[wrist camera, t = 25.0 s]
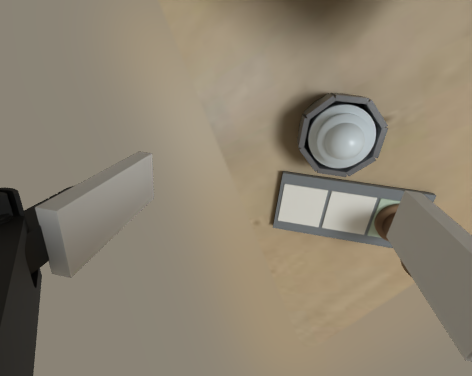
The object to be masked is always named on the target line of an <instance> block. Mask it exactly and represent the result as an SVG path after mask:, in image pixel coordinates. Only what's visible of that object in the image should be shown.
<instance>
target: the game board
mask: <svg viewBox="0 0 472 376" xmlns="http://www.w3.org/2000/svg"><path fill="white" fill-rule="evenodd" d="M405 190H406V191H413V192H419V193H422V194H423V195H425V196H426V197H427V198H428V199H429V200H430V201H432V202H434V199H435V197H436V195H435V194H433V193H429V192H422V191H415V190H408V189H401V188H395V187H388V186H381V185H374V184H367V183H360V182H354V181H347V180H340V179H333V178H326V177H319V176H313V175H306V174H299V173H292V172H285V171H283V174H282V179H281V185H280V190H279V196H278V201H277V207H276V212H275V218H274V223H273V228H278V229H284V230H290V231H296V232H302V233H307V234H313V235H319V236H325V237H331V238H337V239H343V240H348V241H354V242H360V243H366V244H372V245H378V246H384V247H389V248H393V247H392V245H391V244H390V242H389V241H386V240H384V239H383V238H382V237H380V235H379V234H378V232H377V231H376V229H375V226H374V221H375V217H376V215H377V214H378V213H379V212H380V211H381V210H382V209H383V208H385V207H387V206H389V205H392V204H398V203H400V201H401V199H402V196H403V194H404V191H405Z"/></svg>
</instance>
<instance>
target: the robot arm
mask: <svg viewBox="0 0 472 376" xmlns="http://www.w3.org/2000/svg"><path fill="white" fill-rule="evenodd" d="M152 162H153V161H152V153H147V152H137V153H135V154H133V155H131V156H129V157H128V158H126V159H124V160H122V161H120V162H118V163H116V164H115V165H113V166H111V167H109V168H107V169H105V170H103V171H101V172H100V173H98V174H96V175H94V176H92V177H90V178H88V179H87V180H85V181H83V182H81V183H79V184H77V185H75V186H72V187H69V188H66V189H64V190H63V191H61V192H59V193H58V194H55V195H53V196H51V197H50V198H49V199H46V200H44V201H42V202H40V203H38V204H36V205H34V206H32V207H30V208H28V209H27V210H25V211H24V210H23V207H22V203H21V200H20V196H19V193H18V191H17V190H15V189H13V188H0V376H33V369H34V359H35V348H36V336H37V324H38V313H39V302H40V289H41V279H42V275H41V271H40V267H41V266H43V265H44V264H45V263H46V262H47V261H49V264H50V268H51V272H52V274H55V275H61V276H65V277H70V278H72V277H73V276H74V275H75V274H76V273H77V272H78V271H79V270H80V269H81V268H82V267H83V266H84V265H85V264H86V263H87V262H88V261H89V260H90V259H91V258H92V257H93V256H94V255H95V254H96V253H98V251H100V250H101V249H102V248H103V247H104V246H105V245H106V244H107V243H108V242H109V241H110V240H111V239H112V238H113V237H114V236H115V235H116V234H117V233H118V232H119V231H120V230H121V229H122V228H123V227H125V225H127V223H128V222H130V221H131V220H132V219H133V218H134V217H135V216H136V215H137V214H138V213H139V212H140V211H141V210H142V209H143V208H144V207H145V206H146V205H147V204H148V203H149V202H150V201H151V200H153V199H154V189H153V188H154V186H153V163H152ZM386 237H387V239H388V240H389V242H390V244H391V245H392V247H393V248H394V250H395V251H396V253H397V255H398V256H399V258H400V259H401V261H402V262H403V264H404V265H405V267H406V269H407V270H408V272H409V273H410V275H411V276H412V278H413V280H414V281H415V283H416V284H417V285H418V287H419V289H420V291H421V292H422V294H423V295H424V297H425V298H426V300H427V301H428V303H429V305H430V306H431V308H432V309H433V311H434V312H435V314H436V316H437V317H438V319H439V320H440V322H441V323H442V325H443V326H444V328H445V330H446V331H447V333H448V334H449V336H450V337H451V339H452V341H453V342H454V343H455V345H456V347H457V348H458V350H459V351H460V353H461V355H462V356H463V357H464V359H465V360H467V361H471V362H472V235H470V234H469V233H468V232H467V231H466V230H465V229H463V228H462V227H461V226H460V225H459V224H458V223H456V222H455V221H454V220H453V219H452V218H450V217H449V216H448V215H447V214H446V213H445V212H443V211H442V210H441V209H440V208H439V207H438V206H436V205H435V204H434V203H433V202H432V201H430V200H429V199H428V198H427V197H426V196H425V195H423V194H422V193H419V192H413V191H406V190H405V191H404V194H403V196H402V199H401V201H400V204H399V206H398V209H397V211H396V214H395V216H394V219H393V221H392V224H391V226H390V228H389V231H388V233H387V236H386Z"/></svg>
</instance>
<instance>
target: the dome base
mask: <svg viewBox="0 0 472 376" xmlns="http://www.w3.org/2000/svg"><path fill="white" fill-rule="evenodd" d="M339 103H346V104H351V105H354V106H356V107H359V108H361V109H363V110H364V111H366V112H367V113H368V114H369V115H370V116H371V118H372V120H373V121H374V124H375V128H376V139H375V143H374V145H373V147H372V149H371V151H370V152H369V154H368V155H367V156H366V157H365V158H364V159H363V160H361V161H360V162H358V163H357V164H355V165H352V166H350V167H346V168H331V167H328V166H325V165H323V164H321V163H320V162H319V161H317V160H316V159H315V157H314V156H313V154H312V153H311V150H310V148H309V145H308V140H307V133H308V128H309V125H310V123H311V121H312V120H313V118H314V117H315V116H316V115H317V114H318V113H319V112H321V111H322V110H324V109H325V108H326V107H328V106H330V105H333V104H339ZM386 126H388V125H387V124H386V122H385V120H384V119H383V117H382V116H381V114H380V112H379V111H378V109H377V108H376V106H375V104H374V103H373V101H372V100H370V99H369V98H366V97H362V96H356V95H348V94H338V93H331V94H327V95H325V96H324V97H322V98H320V99H318V100H317V101H315V102H314V103H313V104H312V105H311V106H310V107H309V108H308V109H307V110H305V111H304V114H302V118H301V121H300V125H299V133H298V138H297V143H298V147H299V150H300V152H301V153H302V154H303V156H304V157H305V158H306V160H307V161H308V163H309V164H310V165H311V167H312V168H313V169H314V171H317V173H322V174H329V175H335V176H342V177H346V176H347V175H348V176H350V175H352V174H354V173H356V172H357V171H359V170H361V169H362V168H364V167H366V166H367V165H369V164H371V163H372V162H374V161H376V159H375V158H378V156H379V153H380V151H381V148H382V145H383V142H384V139H385V136H386V133H387V130H388V128H386Z"/></svg>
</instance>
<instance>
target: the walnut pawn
mask: <svg viewBox="0 0 472 376" xmlns="http://www.w3.org/2000/svg"><path fill="white" fill-rule="evenodd" d="M399 204H400V203H398V204H392V205H389V206H387V207H385V208H383V209H382V210H381V211H380V212H379V213H378V214H377V215H376V217H375V221H374V226H375V229H376V231H377V232H378V234H379V235H380V237H382V238H383V239H384V240H386V241H389V240H388V239H387V237H386V236H387V233H388V231H389V228H390V226H391V224H392V221H393V219H394V216H395V214H396V211H397V209H398V206H399ZM400 260H401V259H400ZM401 264H402V266H403V268H404V270H405V271H406V272H407V273H408V274H409V275H410V273H409V272H408V270H407V269H406V267H405V265H404V264H403V262H402V261H401ZM410 276H411V275H410ZM411 277H412V276H411Z"/></svg>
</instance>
